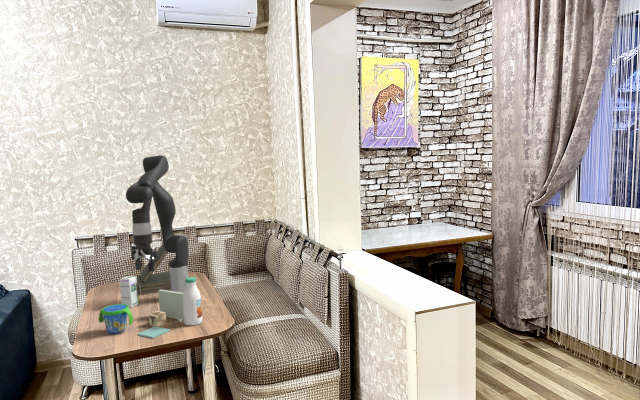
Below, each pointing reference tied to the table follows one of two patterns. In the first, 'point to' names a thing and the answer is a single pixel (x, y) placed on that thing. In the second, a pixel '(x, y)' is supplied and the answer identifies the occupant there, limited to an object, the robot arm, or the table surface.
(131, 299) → the syrup box
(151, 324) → the letter cube
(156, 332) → the pad
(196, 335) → the table surface
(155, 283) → the bible
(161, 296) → the screen
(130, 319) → the snack cup
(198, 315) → the milk bottle
